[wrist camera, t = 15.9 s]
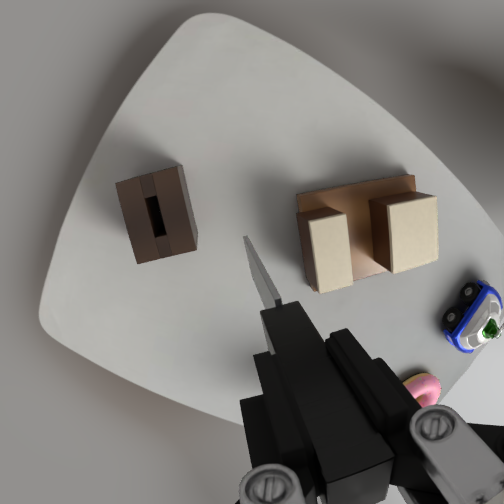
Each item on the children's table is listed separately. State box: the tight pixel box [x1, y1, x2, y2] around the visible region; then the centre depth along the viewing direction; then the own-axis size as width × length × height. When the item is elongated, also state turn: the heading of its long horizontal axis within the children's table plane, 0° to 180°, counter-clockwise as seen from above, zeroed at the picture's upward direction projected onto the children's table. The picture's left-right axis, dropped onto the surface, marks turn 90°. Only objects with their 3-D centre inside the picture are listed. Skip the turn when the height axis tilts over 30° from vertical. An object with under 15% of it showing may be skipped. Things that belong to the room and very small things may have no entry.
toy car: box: [443, 280, 504, 353], centre depth 43 cm, size 9×12×10 cm
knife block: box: [115, 165, 198, 264], centre depth 32 cm, size 8×6×7 cm
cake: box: [369, 191, 438, 274], centre depth 36 cm, size 8×7×5 cm
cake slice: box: [296, 207, 353, 294], centre depth 36 cm, size 8×4×5 cm, turn 11°
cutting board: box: [297, 174, 416, 292], centre depth 39 cm, size 12×16×2 cm
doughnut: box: [403, 373, 442, 408], centre depth 49 cm, size 11×11×4 cm
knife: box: [243, 236, 395, 504], centre depth 14 cm, size 3×2×18 cm, turn 12°
